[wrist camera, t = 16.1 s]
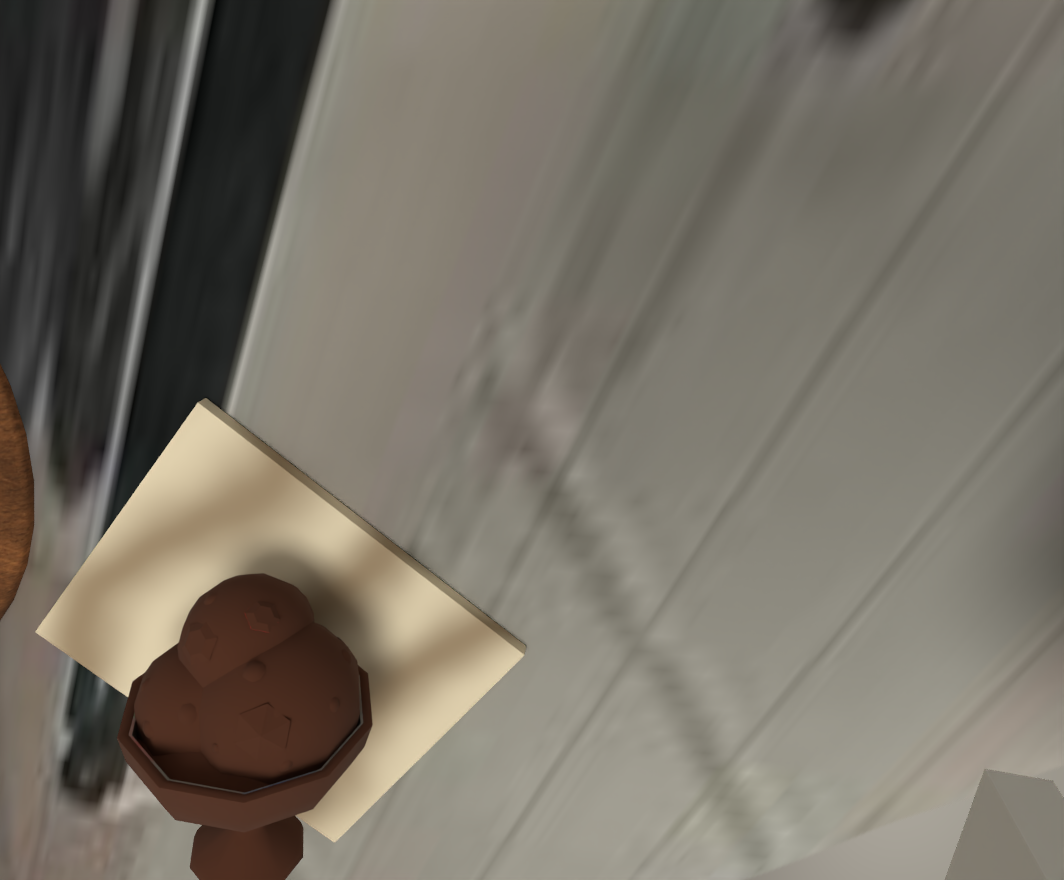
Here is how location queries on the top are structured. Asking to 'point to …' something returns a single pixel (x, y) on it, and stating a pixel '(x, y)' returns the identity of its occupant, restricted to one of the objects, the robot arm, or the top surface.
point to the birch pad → (299, 559)
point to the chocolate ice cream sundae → (247, 725)
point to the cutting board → (13, 496)
